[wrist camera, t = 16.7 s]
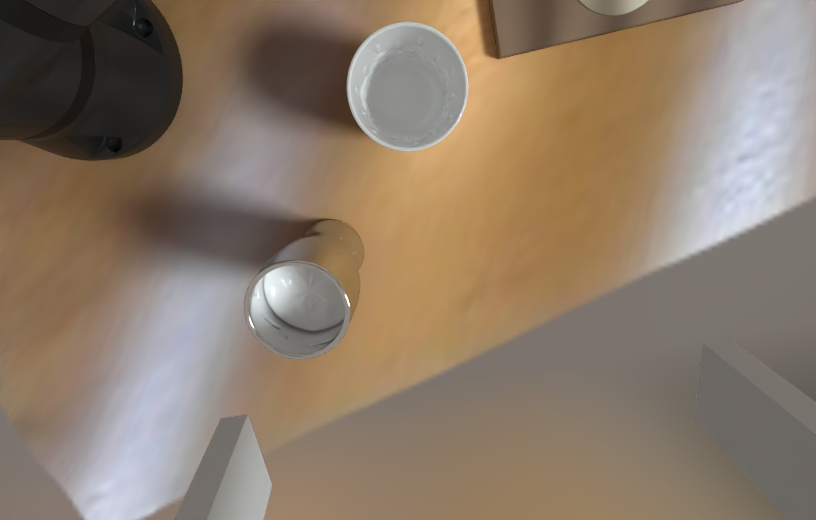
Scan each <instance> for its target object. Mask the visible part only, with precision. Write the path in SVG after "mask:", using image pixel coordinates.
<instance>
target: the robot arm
mask: <svg viewBox="0 0 816 520" xmlns="http://www.w3.org/2000/svg"><path fill="white" fill-rule="evenodd" d="M182 83H183V75H182V64H181V58H180V54H179V50H178V46H177V43H176V41H175V38H174V36H173V33H172V31H171V29H170V27H169V25H168V23H167V22H166V20H165V18H164V17H163V15H162V14H161V12H160V11H159V10H158V8H157V7H156V6H155V4H154V3H153V2H152V1H151V0H0V140H20V141H23V142H26V143H28V144H31V145H33V146H36V147H38V148H41V149H43V150H46V151H49V152H51V153H54V154H57V155H60V156H63V157H67V158H72V159H78V160H88V161H97V160H109V159H119V158H124V157H128V156H131V155H134V154H136V153H139V152H141V151H143V150H145V149H146V148H148V147H149V146H151V145H152V144H153V143H155V142H156V141H157V140H158V139H159V138H160V137H161V136H162V135H163V134H164V133H165V131H166V130H167V129H168V127H169V126H170V124H171V122H172V121H173V119H174V117H175V114H176V112H177V109H178V106H179V103H180V99H181V93H182ZM694 419H695V420H696V421H697V422H698V424H699V425H700V426H701V427H702V428H703V429H704V430H705V431H706V432H707V433H708V434H709V435H710V437H711V438H713V440H714V441H715V442H716V443H717V444H718V445H719V446H720V447H721V448H722V449H723V450H724V452H725V453H726V454H727V455H728V456H729V457H730V458H731V459H732V460H733V461H734V462H735V463H736V464H737V466H739V468H740V469H741V470H742V471H743V472H744V473H745V474H746V475H747V476H748V477H749V478H750V479H751V481H752V482H753V483H755V485H756V486H757V487H758V488H759V489H760V490H761V491H762V492H763V493H764V495H766V497H767V498H768V499H769V500H770V501H771V502H772V503H773V504H774V505H775V506H776V507H777V508H778V510H779V511H780V512H781V513H782V514H783V515H784V516H785V517H786V518H787V519H788V520H816V402H815V401H813V400H812V399H810V398H809V397H808V396H806V395H805V394H804V393H802V392H801V391H800V390H798V389H797V388H796V387H794V386H793V385H792V384H790V383H789V382H787V381H786V380H785V379H783V378H782V377H781V376H779V375H778V374H777V373H775V372H774V371H773V370H771V369H770V368H768V367H767V366H766V365H764V364H763V363H762V362H760V361H759V360H758V359H756V358H755V357H754V356H752V355H751V354H750V353H748V352H747V351H745V350H744V349H743V348H741V347H740V346H739V345H737V344H736V343H735V342H733V341H732V340H730V339H723V340H717V341H711V342H704V343H703V346H702V355H701V363H700V372H699V381H698V389H697V398H696V407H695V415H694ZM271 488H272V484H271V481H270V479H269V475H268V473H267V470H266V467H265V464H264V461H263V458H262V455H261V452H260V449H259V446H258V443H257V440H256V438H255V435H254V432H253V429H252V426H251V423H250V420H249V417H248V414H247V415H241V416H235V417H228V418H222V419H221V420H220V422H219V424H218V426H217V428H216V430H215V433H214V435H213V437H212V439H211V441H210V443H209V446H208V448H207V450H206V452H205V454H204V456H203V459H202V461H201V463H200V465H199V467H198V469H197V472H196V474H195V476H194V478H193V480H192V482H191V485H190V487H189V489H188V491H187V493H186V495H185V498H184V500H183V502H182V504H181V506H180V508H179V511H178V513H177V515H176V517H175V519H174V520H263V518H264V515H265V511H266V507H267V503H268V499H269V495H270V492H271Z"/></svg>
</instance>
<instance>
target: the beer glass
mask: <svg viewBox="0 0 816 520" xmlns="http://www.w3.org/2000/svg"><path fill="white" fill-rule="evenodd" d="M363 260H364V245H363V242H362V240H361V238H360V236H359V235H358V233H357V232H356V231H355V230H354V229H353V228H352V227H351V226H349V225H347V224H346V223H343V222H340V221H336V220H324V221H320V222H317V223H315V224H313V225H312V226H310V227H309V228H308V229H307V230H306V231H305V232H304V234H303V235H302V237H301V238H299V239H297V240H294V241H292V242H290V243H288V244H286V245H285V246H283V247H282V248H281V249H279V250H278V251H277V252H276V253H274V254H273V255H272V256H271V257H270V259H269V260H268V261H267V262H266V263H265V264H264V266H263V267H262V268H261V270H260V271H259V273H258V274H257V275H256V276H255V278H254V279H253V280H252V282H251V283H250V285H249V287H248V289H247V291H246V295H245V299H244V315H245V320H246V323H247V325H248V328H249V330H250V331H251V333H252V335H253V336H254V337H255V339H256V340H257V341H258V342H259V343H260V344H261V345H262V346H264V347H265V348H266V349H268V350H269V351H271V352H273V353H275V354H277V355H279V356H282V357H286V358H290V359H310V358H314V357H318V356H320V355H323V354H325V353H327V352H328V351H330V350H331V349H333V348H334V347H335V346H336V345H337V344H338V343H339V342H340V341H341V339H342V338H343V336H344V335H345V333H346V331H347V329H348V326H349V323H350V321H351V319H352V317H353V315H354V313H355V310H356V307H357V304H358V300H359V294H360V274H359V270H360V268H361V266H362V264H363Z"/></svg>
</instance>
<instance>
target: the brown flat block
mask: <svg viewBox="0 0 816 520" xmlns="http://www.w3.org/2000/svg"><path fill="white" fill-rule="evenodd" d="M741 1H743V0H489V4H490V10H491V16H492V23H493V29H494V36H495V42H496V48H497V55H498V59H501V58H506V57H510V56H514V55H518V54H523V53H527V52H531V51H535V50H539V49H544V48H548V47H552V46H556V45H561V44H565V43H569V42H573V41H578V40H582V39H586V38H590V37H594V36H599V35H603V34H607V33H611V32H616V31H620V30H624V29H628V28H633V27H637V26H641V25H645V24H650V23H654V22H658V21H662V20H666V19H671V18H675V17H679V16H683V15H688V14H692V13H696V12H700V11H705V10H709V9H713V8H717V7H721V6H726V5H730V4H734V3H738V2H741Z"/></svg>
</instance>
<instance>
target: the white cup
mask: <svg viewBox="0 0 816 520" xmlns="http://www.w3.org/2000/svg"><path fill="white" fill-rule="evenodd" d="M467 97H468V77H467V71H466V68H465V64H464V62H463V59H462V57H461V55H460V53H459V52H458V50H457V48H456V47H455V46H454V44H453V43H452V42H451V41H450V40H449V39H448V38H447V37H446V36H445V35H443V34H442V33H441V32H439V31H438V30H436V29H434V28H432V27H430V26H427V25H424V24H421V23H416V22H399V23H394V24H390V25H387V26H385V27H382V28H380V29H379V30H377V31H375V32H374V33H372V34H371V35H370V36H369V37H368V38H367V39H366V40H365V41H364V42H363V43H362V44H361V45H360V46H359V48H358V49H357V51H356V53H355V54H354V56H353V58H352V61H351V63H350V66H349V70H348V75H347V98H348V103H349V107H350V110H351V112H352V115H353V117H354V119H355V120H356V122H357V124H358V125H359V127H360V128H361V129H362V130H363V131H364V132H365V134H367V135H368V136H369V137H370V138H371V139H372V140H374V141H375V142H377V143H378V144H380V145H382V146H384V147H387V148H390V149H393V150H398V151H417V150H422V149H425V148H428V147H431V146H433V145H435V144H437V143H438V142H440V141H441V140H443V139H444V138H445V137H446V136H447V135H448V134H449V133H450V132H451V131H452V130H453V129H454V128H455V126H456V125H457V123H458V122H459V120H460V118H461V116H462V114H463V112H464V109H465V106H466V102H467Z"/></svg>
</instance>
